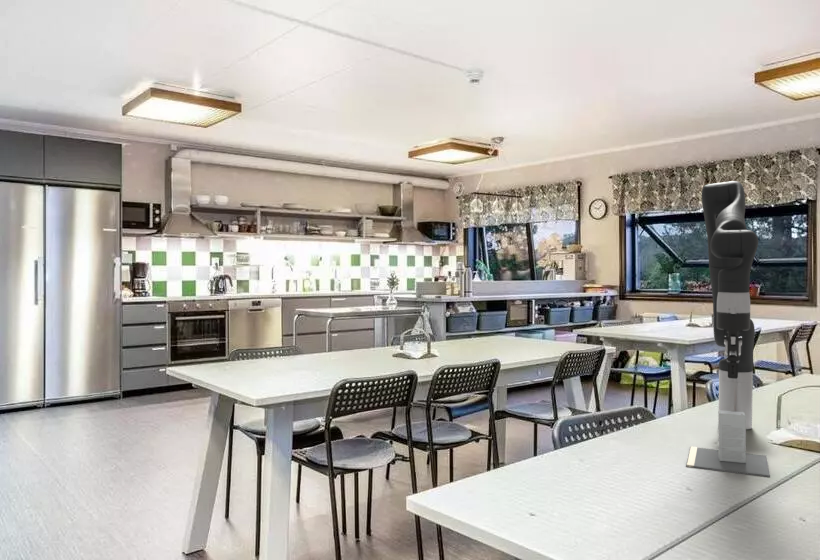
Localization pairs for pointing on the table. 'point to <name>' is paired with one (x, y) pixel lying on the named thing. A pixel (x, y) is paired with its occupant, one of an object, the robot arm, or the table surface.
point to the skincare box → (732, 436)
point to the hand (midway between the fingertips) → (732, 375)
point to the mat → (711, 461)
